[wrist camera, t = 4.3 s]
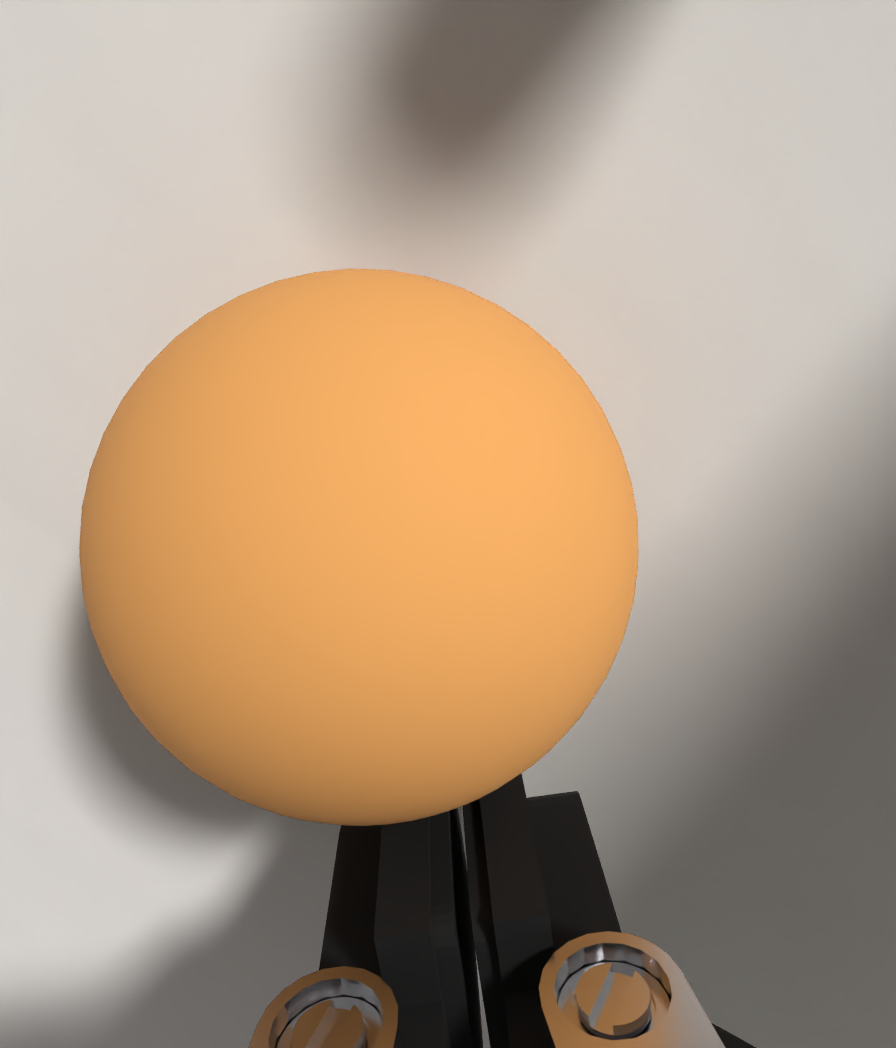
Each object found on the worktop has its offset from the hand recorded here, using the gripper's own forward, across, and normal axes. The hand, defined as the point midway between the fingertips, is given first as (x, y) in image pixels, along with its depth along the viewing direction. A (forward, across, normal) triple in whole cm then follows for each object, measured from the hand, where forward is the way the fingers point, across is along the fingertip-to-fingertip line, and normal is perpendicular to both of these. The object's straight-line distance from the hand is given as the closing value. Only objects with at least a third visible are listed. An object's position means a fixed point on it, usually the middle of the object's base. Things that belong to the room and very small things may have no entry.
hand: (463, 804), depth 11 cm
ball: (-2, 0, -4) cm, 5 cm away
